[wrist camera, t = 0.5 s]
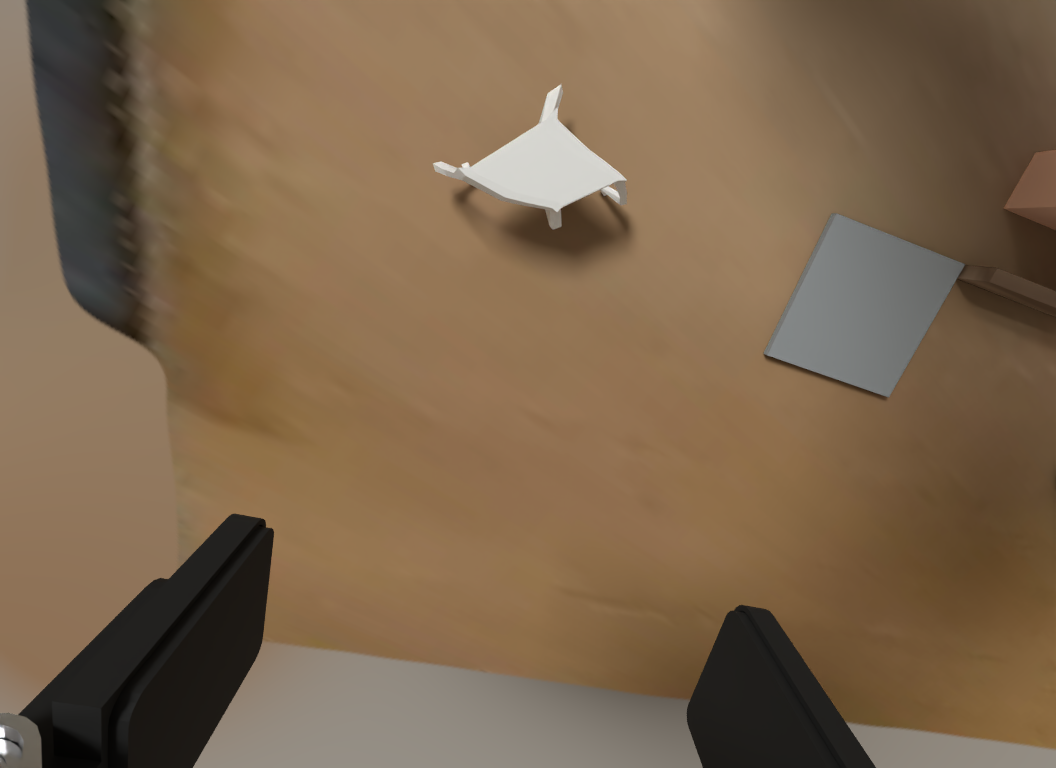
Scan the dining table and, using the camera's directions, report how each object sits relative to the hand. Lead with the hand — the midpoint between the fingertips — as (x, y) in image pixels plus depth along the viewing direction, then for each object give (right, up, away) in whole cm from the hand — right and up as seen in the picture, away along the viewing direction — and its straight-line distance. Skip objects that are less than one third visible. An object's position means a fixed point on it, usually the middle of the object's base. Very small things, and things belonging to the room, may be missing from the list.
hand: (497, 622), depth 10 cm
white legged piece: (+1, +20, +26) cm, 32 cm away
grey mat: (+26, +10, +29) cm, 40 cm away
